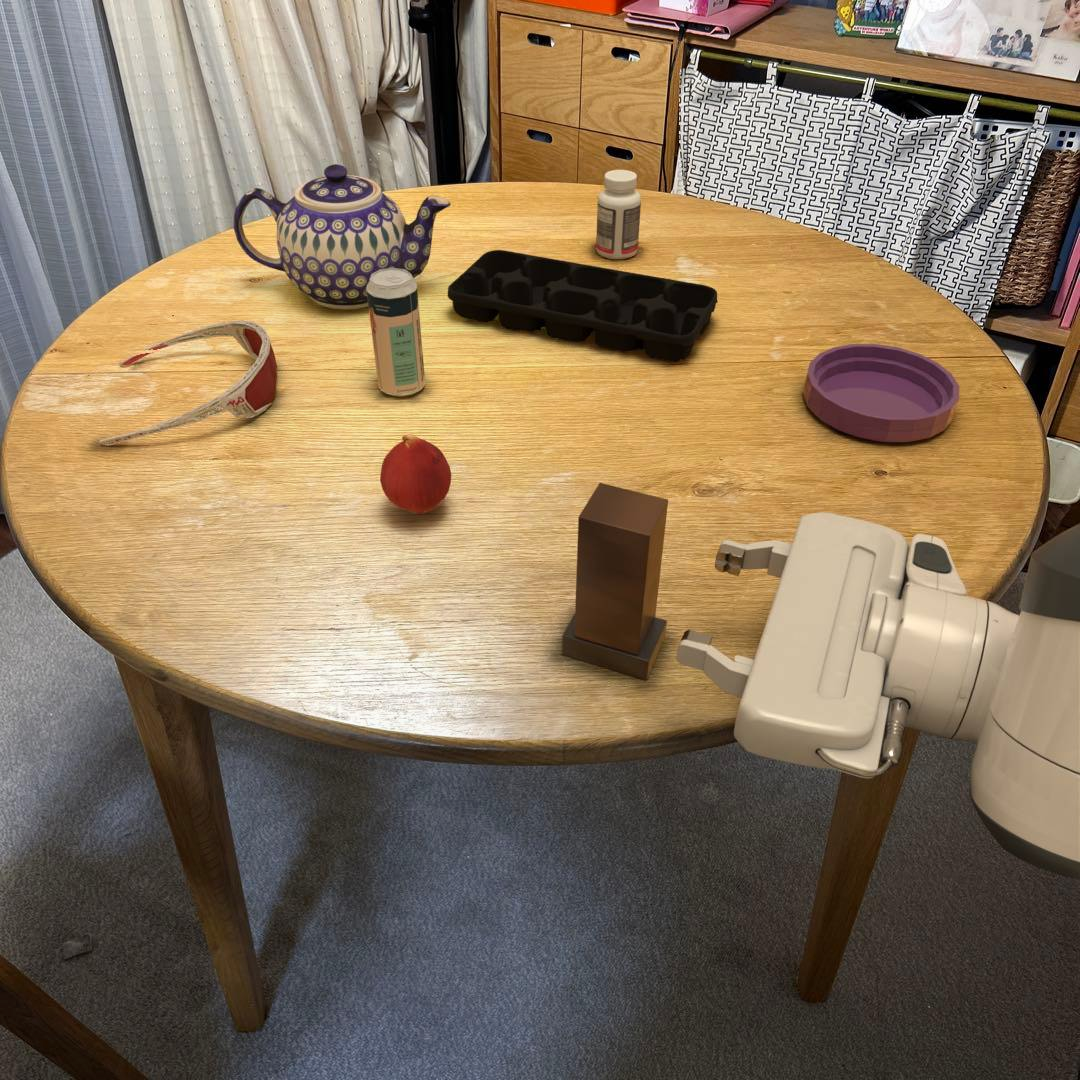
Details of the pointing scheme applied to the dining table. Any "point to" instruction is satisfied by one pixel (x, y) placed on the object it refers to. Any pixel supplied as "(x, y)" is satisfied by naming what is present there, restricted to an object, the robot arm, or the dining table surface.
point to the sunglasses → (247, 392)
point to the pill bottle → (618, 216)
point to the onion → (415, 475)
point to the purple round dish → (881, 392)
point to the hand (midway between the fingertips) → (699, 597)
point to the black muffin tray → (585, 303)
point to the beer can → (396, 331)
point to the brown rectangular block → (618, 582)
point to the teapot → (342, 236)
